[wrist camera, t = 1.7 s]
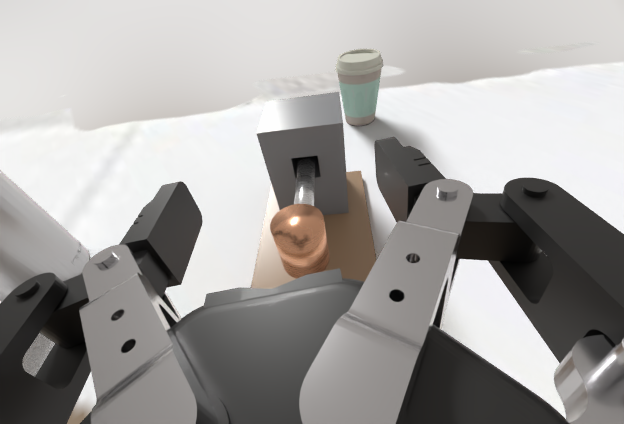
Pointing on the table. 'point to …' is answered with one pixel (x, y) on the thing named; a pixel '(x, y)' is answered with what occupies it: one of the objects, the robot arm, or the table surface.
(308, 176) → the plunger
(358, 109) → the coffee cup
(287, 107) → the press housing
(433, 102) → the table surface
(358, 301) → the robot arm
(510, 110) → the table surface
